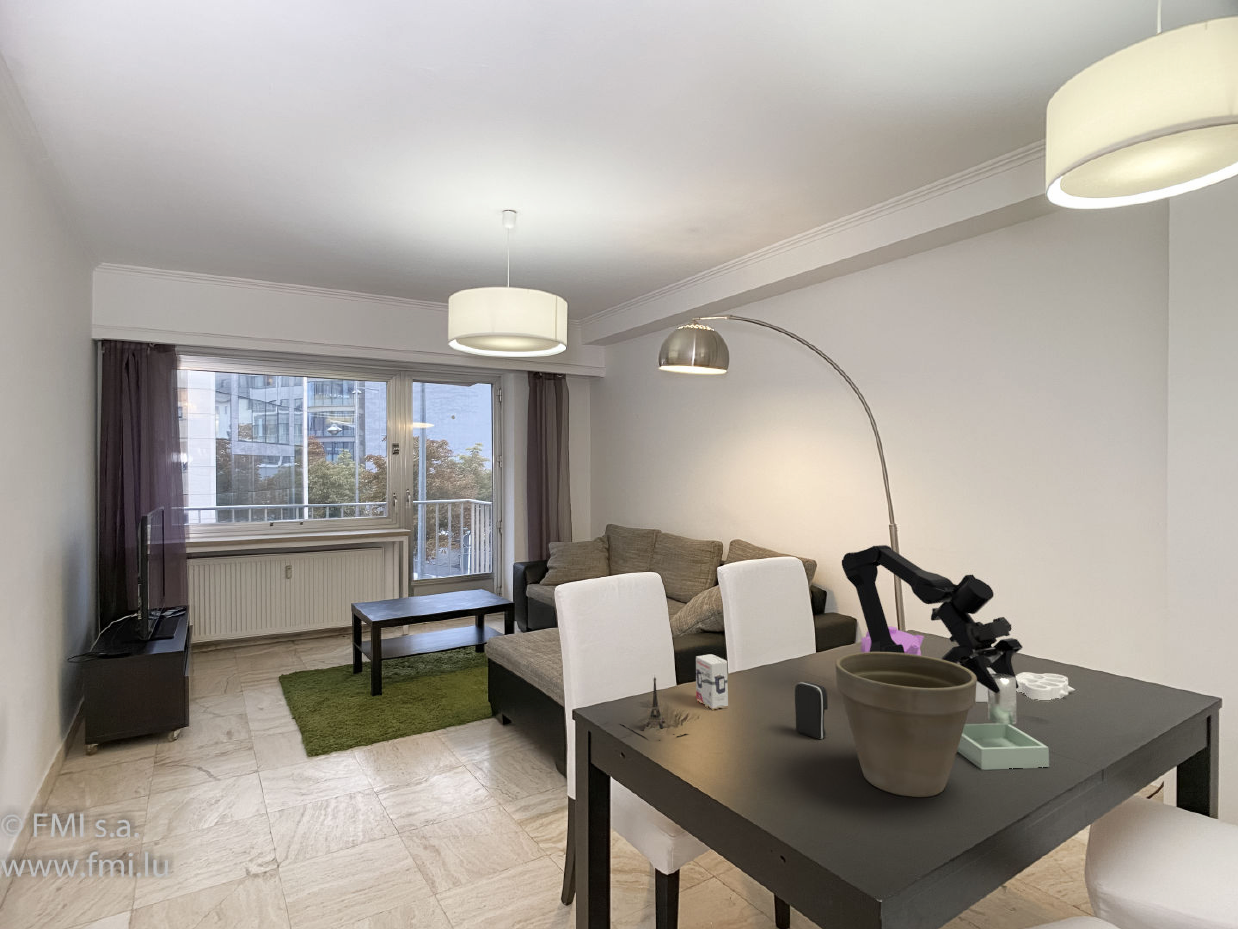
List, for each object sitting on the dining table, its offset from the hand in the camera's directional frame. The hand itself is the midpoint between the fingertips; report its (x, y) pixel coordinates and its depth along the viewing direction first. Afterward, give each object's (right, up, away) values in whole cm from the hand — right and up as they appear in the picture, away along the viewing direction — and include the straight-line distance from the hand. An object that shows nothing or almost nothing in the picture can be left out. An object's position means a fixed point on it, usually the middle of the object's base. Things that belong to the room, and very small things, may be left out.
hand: (1007, 690), depth 144 cm
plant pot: (-26, -14, -11) cm, 31 cm away
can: (0, -7, +1) cm, 7 cm away
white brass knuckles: (+32, -14, +42) cm, 54 cm away
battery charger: (-37, -14, +13) cm, 42 cm away
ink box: (-57, -15, +34) cm, 68 cm away
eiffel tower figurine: (-73, -15, +18) cm, 76 cm away
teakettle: (+2, -15, +64) cm, 66 cm away
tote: (-2, -14, 0) cm, 14 cm away
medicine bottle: (+14, -14, +36) cm, 41 cm away
